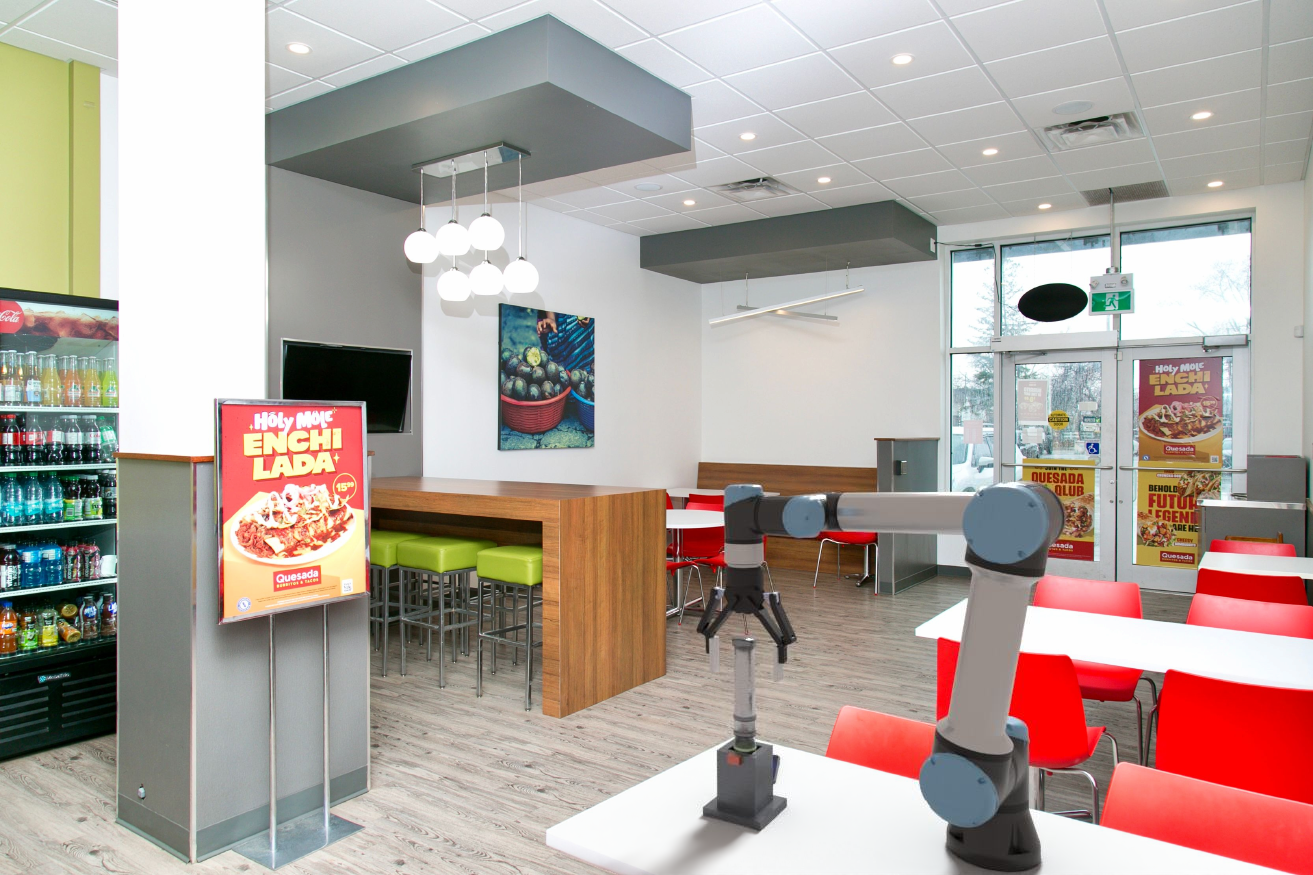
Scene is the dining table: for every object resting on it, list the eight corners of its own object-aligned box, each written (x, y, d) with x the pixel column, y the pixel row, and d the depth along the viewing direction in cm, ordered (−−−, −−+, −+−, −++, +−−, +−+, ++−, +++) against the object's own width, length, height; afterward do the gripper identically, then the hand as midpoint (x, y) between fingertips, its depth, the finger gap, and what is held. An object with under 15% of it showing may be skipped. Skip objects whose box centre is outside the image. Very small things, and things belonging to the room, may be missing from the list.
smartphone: (740, 778, 169) (747, 752, 184) (740, 783, 169) (748, 756, 184) (775, 781, 168) (780, 754, 182) (775, 785, 168) (780, 758, 182)
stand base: (786, 805, 158) (786, 743, 158) (760, 830, 148) (760, 764, 148) (731, 791, 164) (731, 732, 164) (702, 814, 154) (702, 751, 154)
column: (761, 757, 157) (761, 637, 157) (750, 765, 153) (750, 642, 153) (739, 752, 159) (738, 634, 159) (728, 760, 155) (727, 639, 155)
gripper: (812, 566, 153) (814, 679, 152) (697, 558, 166) (698, 662, 166) (797, 571, 146) (799, 689, 146) (678, 562, 160) (680, 671, 159)
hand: (745, 675), depth 156 cm, fingers open, 13 cm apart
